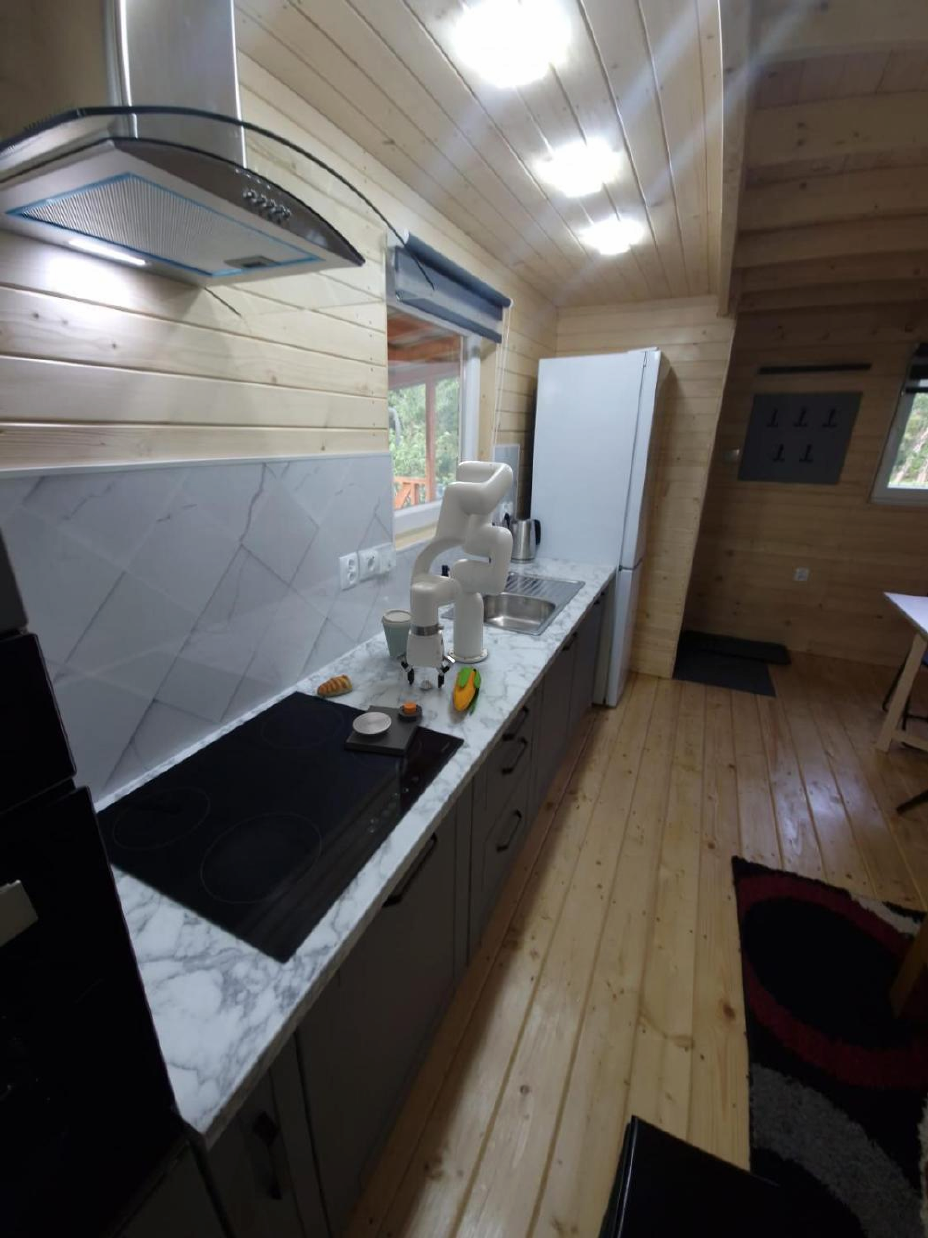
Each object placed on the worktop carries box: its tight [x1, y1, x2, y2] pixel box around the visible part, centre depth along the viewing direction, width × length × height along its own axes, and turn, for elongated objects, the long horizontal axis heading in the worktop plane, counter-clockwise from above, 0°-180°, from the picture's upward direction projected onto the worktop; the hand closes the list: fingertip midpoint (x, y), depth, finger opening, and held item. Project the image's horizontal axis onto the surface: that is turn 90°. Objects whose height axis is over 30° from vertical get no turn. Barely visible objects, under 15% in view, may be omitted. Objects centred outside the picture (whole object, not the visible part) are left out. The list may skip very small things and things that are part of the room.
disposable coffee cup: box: [380, 608, 411, 662], centre depth 156 cm, size 11×11×15 cm
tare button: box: [403, 701, 417, 714], centre depth 124 cm, size 3×3×2 cm
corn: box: [452, 666, 482, 712], centre depth 133 cm, size 7×8×20 cm
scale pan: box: [352, 712, 391, 736], centre depth 117 cm, size 9×9×1 cm
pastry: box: [316, 674, 354, 698], centre depth 138 cm, size 9×7×4 cm
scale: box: [345, 703, 424, 757], centre depth 120 cm, size 16×14×4 cm
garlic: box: [420, 677, 433, 690], centre depth 141 cm, size 3×4×3 cm
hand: (426, 684), depth 141 cm, fingers open, 7 cm apart
